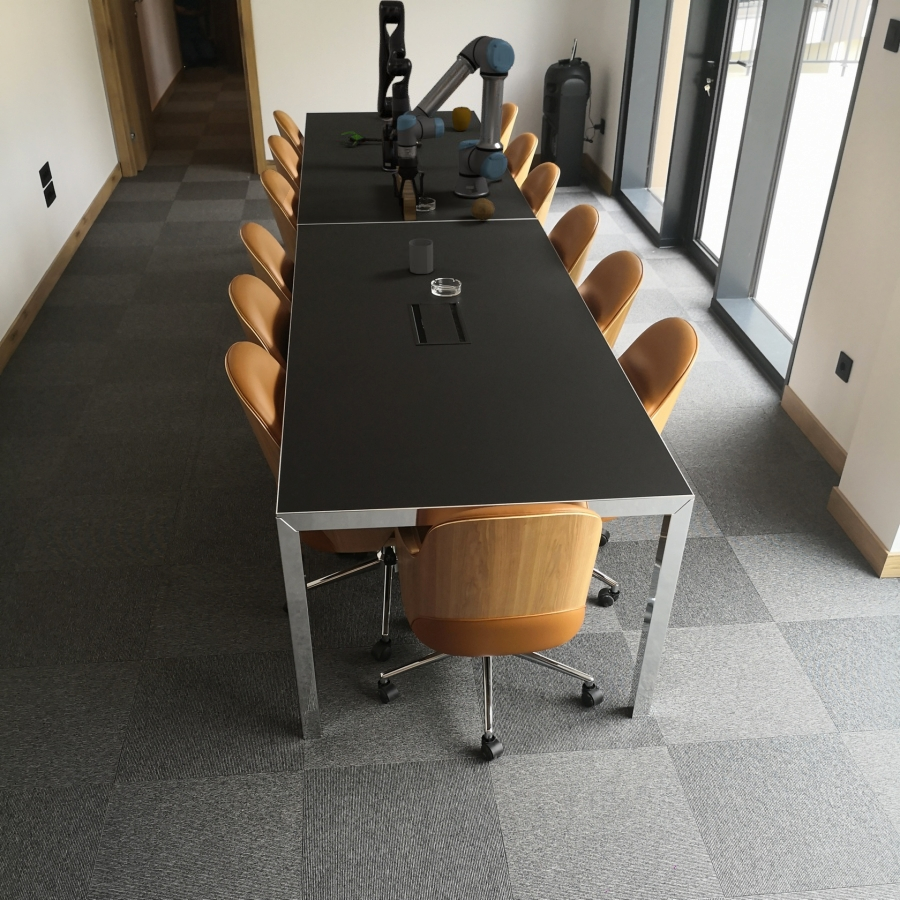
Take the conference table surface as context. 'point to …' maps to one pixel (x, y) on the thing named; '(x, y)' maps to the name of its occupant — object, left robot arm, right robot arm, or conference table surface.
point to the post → (407, 199)
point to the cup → (421, 256)
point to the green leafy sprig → (358, 139)
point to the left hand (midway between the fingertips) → (401, 147)
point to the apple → (461, 118)
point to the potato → (482, 209)
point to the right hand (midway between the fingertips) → (409, 213)
